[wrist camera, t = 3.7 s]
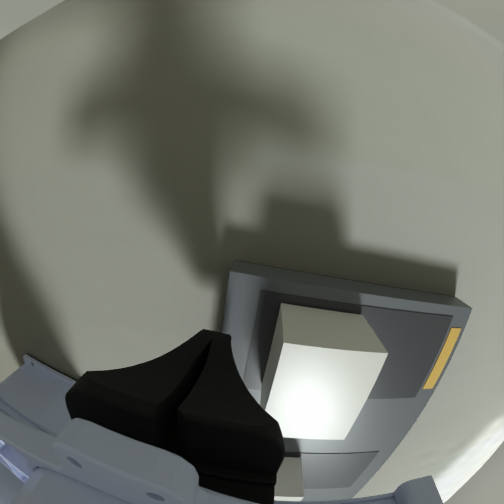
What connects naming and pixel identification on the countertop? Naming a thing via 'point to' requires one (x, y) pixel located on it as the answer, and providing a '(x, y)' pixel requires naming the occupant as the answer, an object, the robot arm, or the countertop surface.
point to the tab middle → (289, 480)
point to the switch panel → (388, 381)
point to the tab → (320, 371)
